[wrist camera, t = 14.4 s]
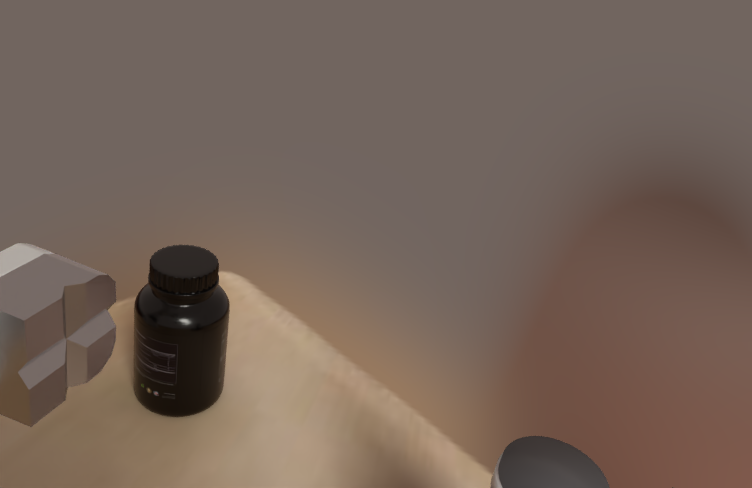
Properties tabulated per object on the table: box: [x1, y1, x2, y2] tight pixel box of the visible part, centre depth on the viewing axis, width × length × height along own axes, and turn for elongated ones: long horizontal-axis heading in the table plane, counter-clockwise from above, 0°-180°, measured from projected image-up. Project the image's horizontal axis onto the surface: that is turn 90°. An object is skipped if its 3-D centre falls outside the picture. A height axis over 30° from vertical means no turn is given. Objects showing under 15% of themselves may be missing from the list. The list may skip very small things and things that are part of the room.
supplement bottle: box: [134, 245, 229, 417], centre depth 54 cm, size 7×7×12 cm
